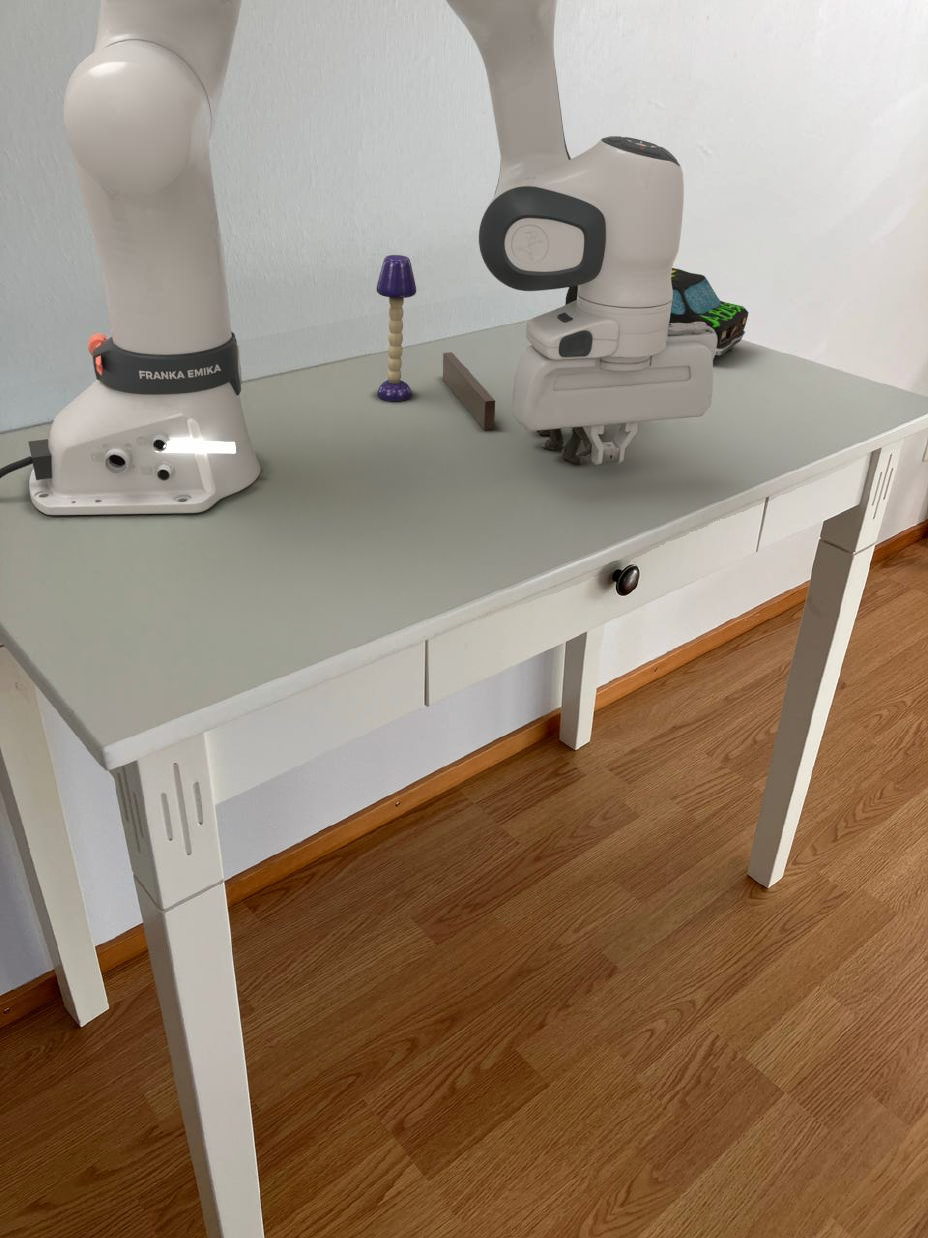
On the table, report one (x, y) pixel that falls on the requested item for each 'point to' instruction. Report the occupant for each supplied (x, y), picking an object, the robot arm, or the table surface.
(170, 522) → the table surface
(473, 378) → the walnut rails
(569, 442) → the toy dinosaur
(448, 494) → the table surface
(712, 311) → the toy van
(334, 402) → the table surface
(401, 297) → the toy lamp
